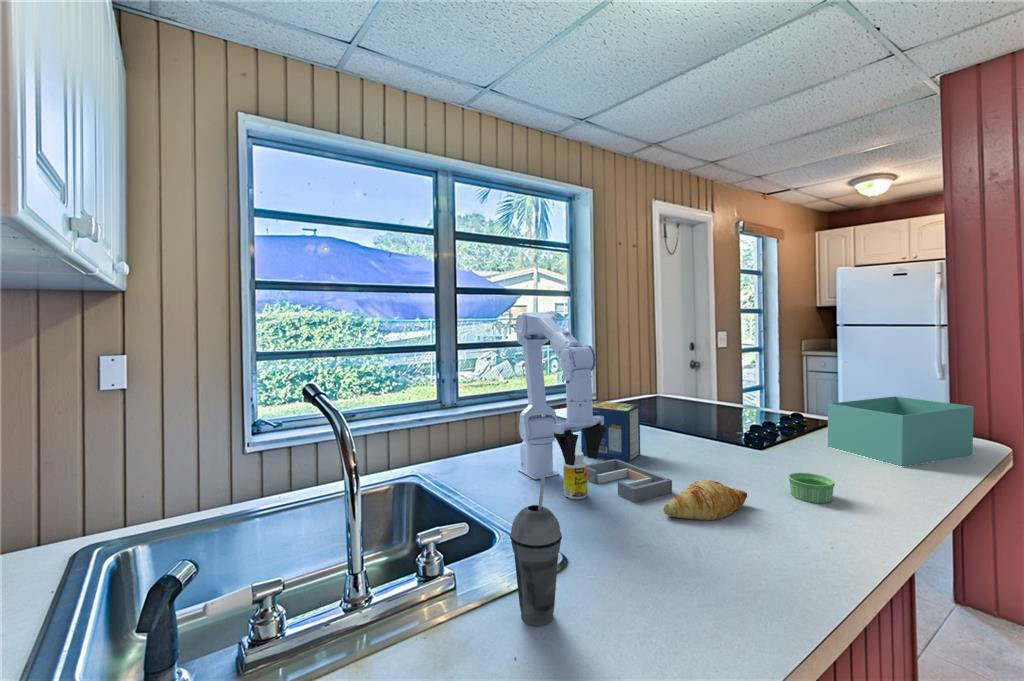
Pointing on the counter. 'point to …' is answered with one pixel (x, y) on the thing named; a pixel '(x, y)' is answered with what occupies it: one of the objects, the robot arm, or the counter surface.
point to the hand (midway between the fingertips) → (581, 461)
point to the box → (901, 429)
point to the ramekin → (811, 487)
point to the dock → (635, 490)
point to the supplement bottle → (576, 478)
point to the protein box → (617, 431)
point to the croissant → (705, 501)
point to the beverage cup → (536, 561)
